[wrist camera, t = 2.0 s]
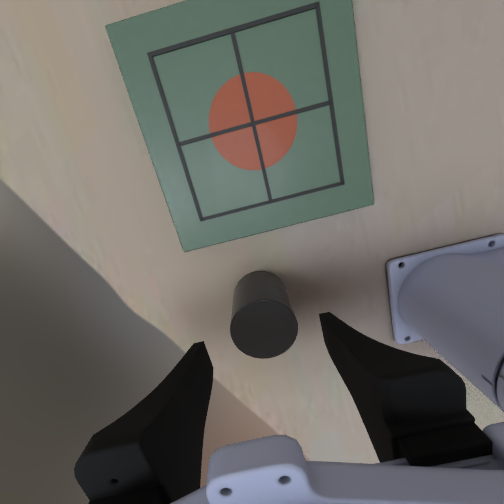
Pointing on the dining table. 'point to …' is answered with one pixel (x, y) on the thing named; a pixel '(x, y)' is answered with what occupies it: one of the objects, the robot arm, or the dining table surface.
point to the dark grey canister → (262, 316)
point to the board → (248, 112)
